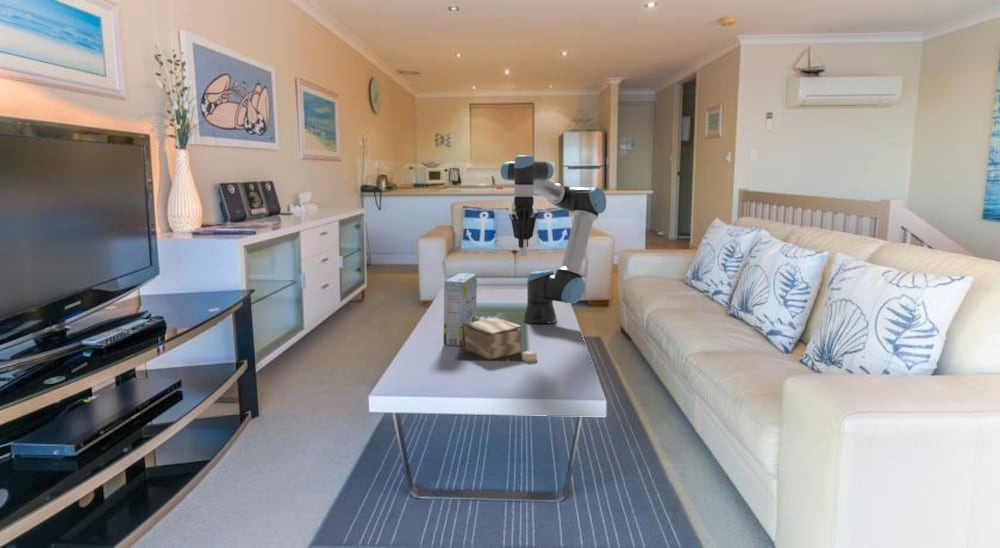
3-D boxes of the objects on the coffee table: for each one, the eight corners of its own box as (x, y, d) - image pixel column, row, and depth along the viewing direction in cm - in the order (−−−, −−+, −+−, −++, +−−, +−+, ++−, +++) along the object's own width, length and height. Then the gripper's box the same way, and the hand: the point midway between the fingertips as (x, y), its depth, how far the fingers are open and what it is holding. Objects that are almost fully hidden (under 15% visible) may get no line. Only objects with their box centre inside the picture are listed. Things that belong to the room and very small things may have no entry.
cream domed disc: (530, 356, 210) (530, 350, 209) (539, 360, 205) (539, 353, 205) (519, 359, 207) (519, 352, 206) (528, 363, 202) (528, 356, 202)
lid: (489, 335, 203) (489, 333, 203) (464, 325, 217) (464, 323, 217) (521, 327, 212) (521, 325, 212) (495, 318, 225) (495, 317, 225)
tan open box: (496, 342, 226) (496, 321, 225) (520, 352, 214) (521, 329, 212) (465, 349, 218) (465, 326, 216) (489, 360, 205) (489, 335, 204)
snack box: (464, 347, 221) (464, 282, 216) (442, 345, 222) (442, 281, 218) (477, 332, 242) (477, 272, 237) (457, 331, 243) (457, 272, 239)
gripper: (530, 195, 229) (530, 253, 233) (504, 195, 221) (504, 255, 225) (542, 195, 223) (541, 255, 227) (516, 196, 215) (516, 258, 219)
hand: (523, 255), depth 226 cm, fingers closed
